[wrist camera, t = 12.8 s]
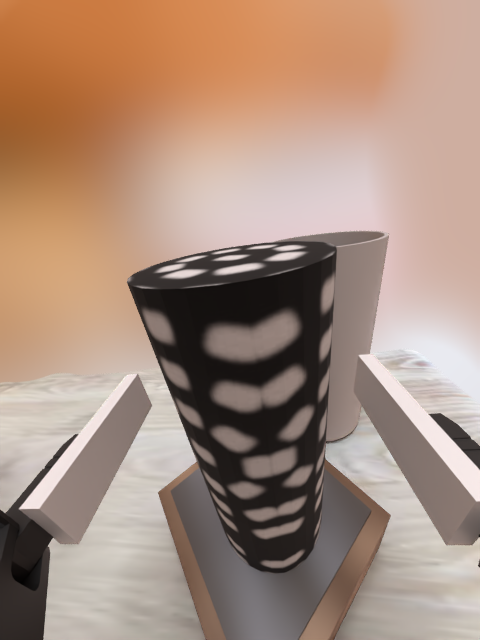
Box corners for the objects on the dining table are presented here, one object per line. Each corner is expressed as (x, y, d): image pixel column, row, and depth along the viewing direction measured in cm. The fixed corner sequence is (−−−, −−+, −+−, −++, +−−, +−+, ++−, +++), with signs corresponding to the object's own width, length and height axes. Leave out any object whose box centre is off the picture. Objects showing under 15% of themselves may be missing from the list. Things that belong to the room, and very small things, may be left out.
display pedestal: (265, 777, 11) (252, 786, 9) (175, 522, 22) (156, 489, 19) (378, 547, 18) (391, 512, 16) (268, 437, 29) (265, 405, 26)
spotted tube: (200, 515, 17) (90, 281, 8) (254, 434, 23) (222, 246, 14) (295, 616, 12) (263, 304, 4) (334, 481, 18) (359, 235, 9)
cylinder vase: (370, 451, 26) (416, 238, 15) (270, 437, 29) (249, 256, 18) (348, 381, 36) (366, 228, 26) (277, 376, 40) (267, 240, 29)
